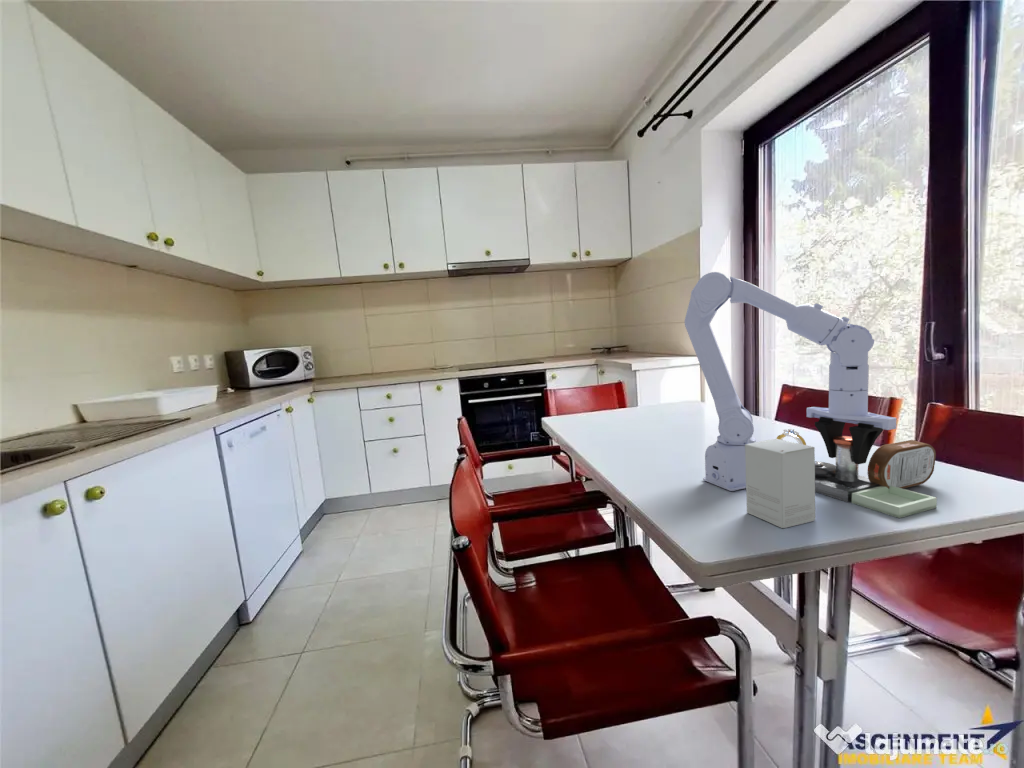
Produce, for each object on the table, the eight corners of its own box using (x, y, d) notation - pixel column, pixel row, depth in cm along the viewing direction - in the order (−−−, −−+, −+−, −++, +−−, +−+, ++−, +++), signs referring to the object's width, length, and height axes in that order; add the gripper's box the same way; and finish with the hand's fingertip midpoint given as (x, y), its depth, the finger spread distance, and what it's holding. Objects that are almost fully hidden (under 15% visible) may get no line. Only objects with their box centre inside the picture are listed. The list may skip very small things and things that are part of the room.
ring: (773, 459, 101) (772, 427, 100) (784, 458, 102) (784, 426, 101) (797, 467, 94) (797, 433, 93) (809, 466, 95) (809, 431, 94)
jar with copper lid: (850, 483, 77) (851, 442, 76) (827, 477, 81) (827, 438, 80) (866, 480, 78) (867, 439, 77) (843, 473, 82) (843, 435, 81)
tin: (919, 477, 82) (920, 436, 81) (939, 482, 79) (940, 439, 78) (865, 490, 78) (865, 446, 77) (884, 496, 75) (885, 450, 74)
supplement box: (817, 521, 69) (817, 446, 67) (782, 529, 67) (781, 453, 65) (777, 505, 76) (776, 437, 74) (744, 512, 74) (743, 443, 72)
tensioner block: (847, 502, 75) (847, 479, 74) (786, 482, 86) (786, 462, 86) (886, 492, 78) (886, 471, 77) (821, 474, 89) (821, 455, 89)
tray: (899, 518, 68) (899, 507, 67) (851, 502, 74) (851, 493, 74) (936, 507, 70) (936, 497, 70) (887, 493, 77) (887, 484, 77)
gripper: (909, 390, 72) (907, 467, 73) (824, 384, 86) (823, 448, 87) (880, 394, 70) (878, 473, 71) (798, 387, 83) (798, 453, 85)
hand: (846, 460), depth 79 cm, fingers closed on jar with copper lid, 4 cm apart
